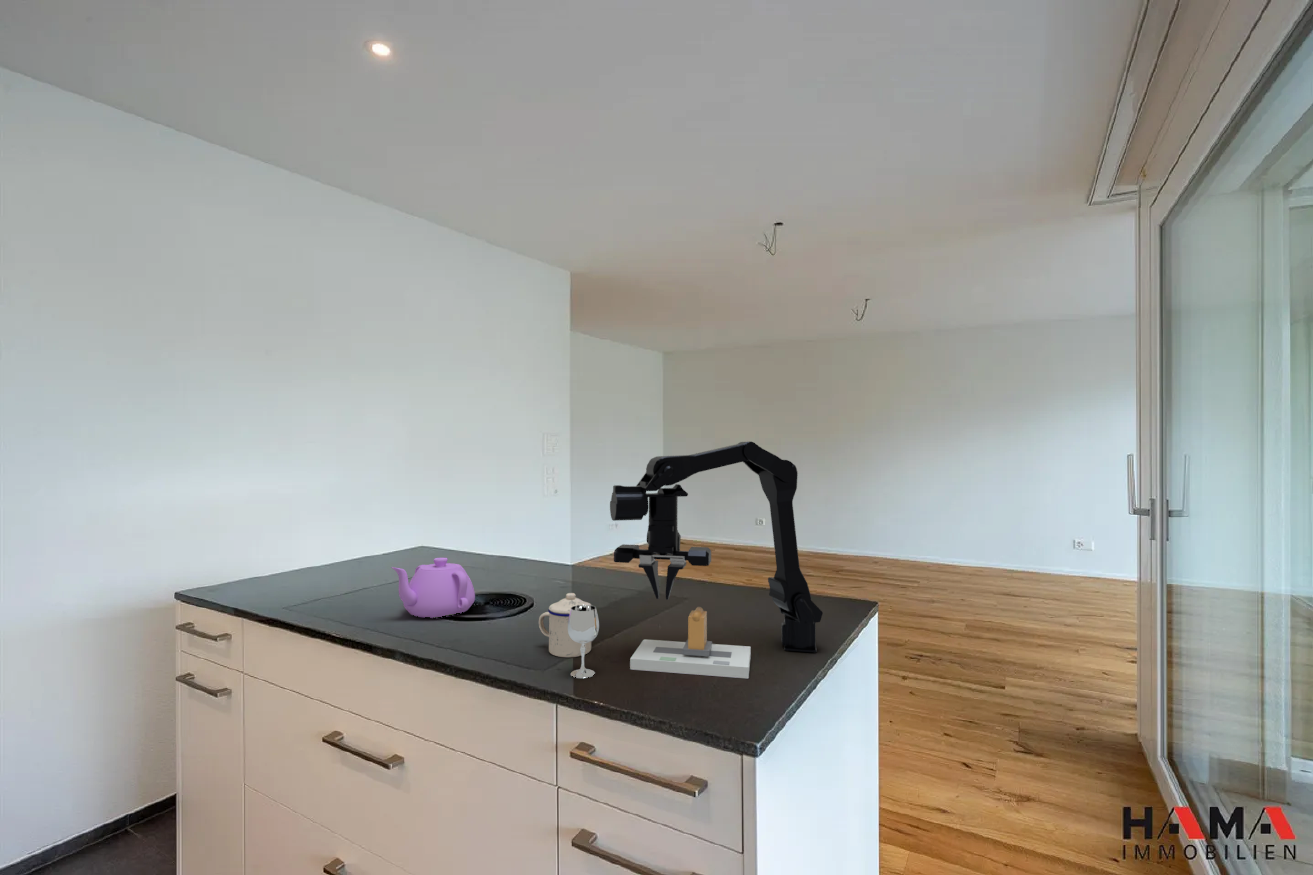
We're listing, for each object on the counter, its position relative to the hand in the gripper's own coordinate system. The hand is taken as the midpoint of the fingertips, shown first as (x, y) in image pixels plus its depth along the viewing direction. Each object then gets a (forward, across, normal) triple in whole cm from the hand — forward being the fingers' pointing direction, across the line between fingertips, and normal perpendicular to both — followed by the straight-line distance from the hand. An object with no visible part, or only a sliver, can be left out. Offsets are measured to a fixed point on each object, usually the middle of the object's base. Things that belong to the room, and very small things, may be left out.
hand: (662, 598), depth 115 cm
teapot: (+12, +63, -21) cm, 68 cm away
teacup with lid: (+12, +21, -2) cm, 24 cm away
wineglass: (+12, +13, +10) cm, 20 cm away
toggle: (+10, -7, 0) cm, 12 cm away
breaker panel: (+12, -6, 0) cm, 13 cm away
